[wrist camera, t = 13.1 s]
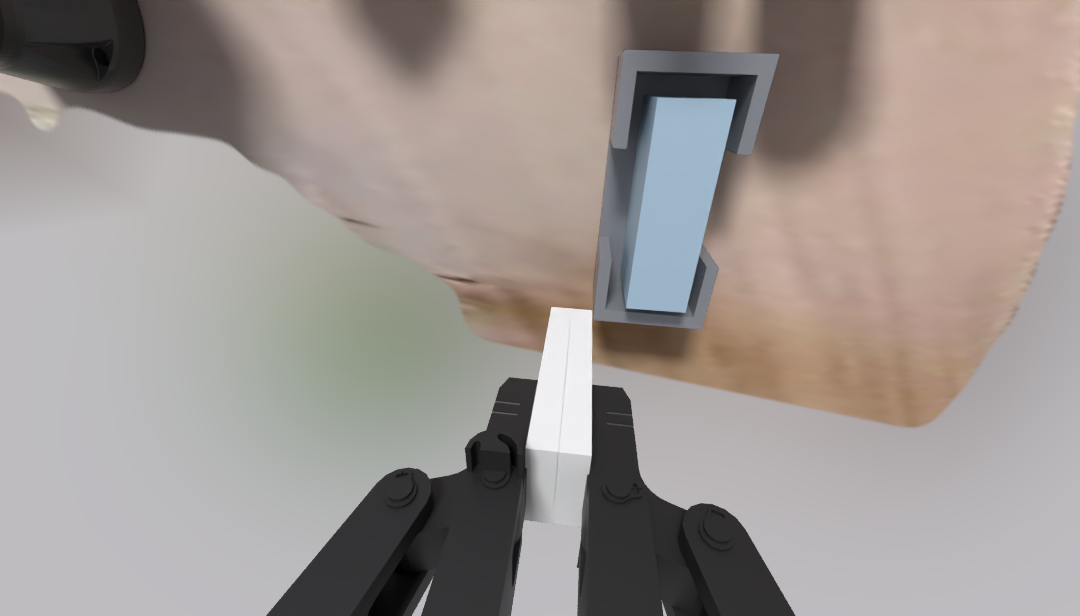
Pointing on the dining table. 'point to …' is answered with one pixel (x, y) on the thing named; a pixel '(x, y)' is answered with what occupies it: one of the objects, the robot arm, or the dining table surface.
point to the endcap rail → (635, 78)
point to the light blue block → (671, 197)
